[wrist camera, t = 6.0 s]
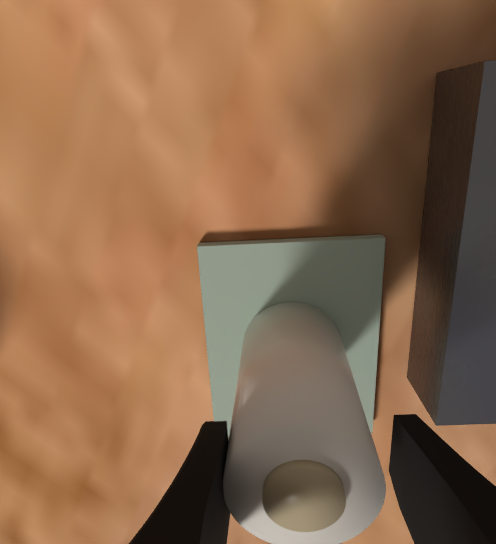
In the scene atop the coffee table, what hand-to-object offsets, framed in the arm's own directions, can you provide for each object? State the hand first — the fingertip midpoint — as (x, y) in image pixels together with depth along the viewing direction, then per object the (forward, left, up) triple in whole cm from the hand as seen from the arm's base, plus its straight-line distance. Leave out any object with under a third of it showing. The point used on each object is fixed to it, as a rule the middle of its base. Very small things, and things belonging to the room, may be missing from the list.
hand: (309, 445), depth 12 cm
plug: (0, 0, -5) cm, 5 cm away
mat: (0, 0, -6) cm, 6 cm away
